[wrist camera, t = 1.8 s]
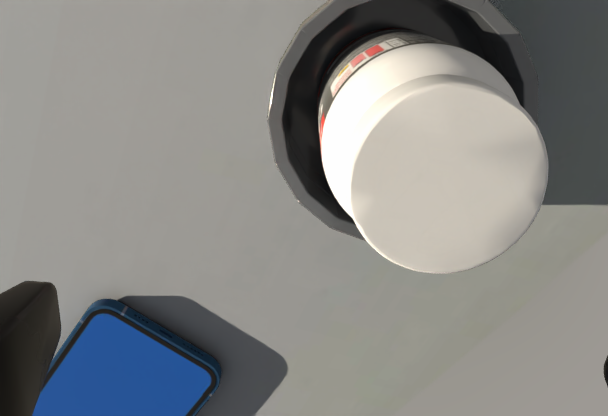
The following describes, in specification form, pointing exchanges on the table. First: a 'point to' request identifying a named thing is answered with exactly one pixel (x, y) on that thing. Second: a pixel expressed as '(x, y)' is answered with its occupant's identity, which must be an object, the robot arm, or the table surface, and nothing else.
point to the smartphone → (126, 369)
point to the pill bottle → (429, 151)
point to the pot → (341, 31)
